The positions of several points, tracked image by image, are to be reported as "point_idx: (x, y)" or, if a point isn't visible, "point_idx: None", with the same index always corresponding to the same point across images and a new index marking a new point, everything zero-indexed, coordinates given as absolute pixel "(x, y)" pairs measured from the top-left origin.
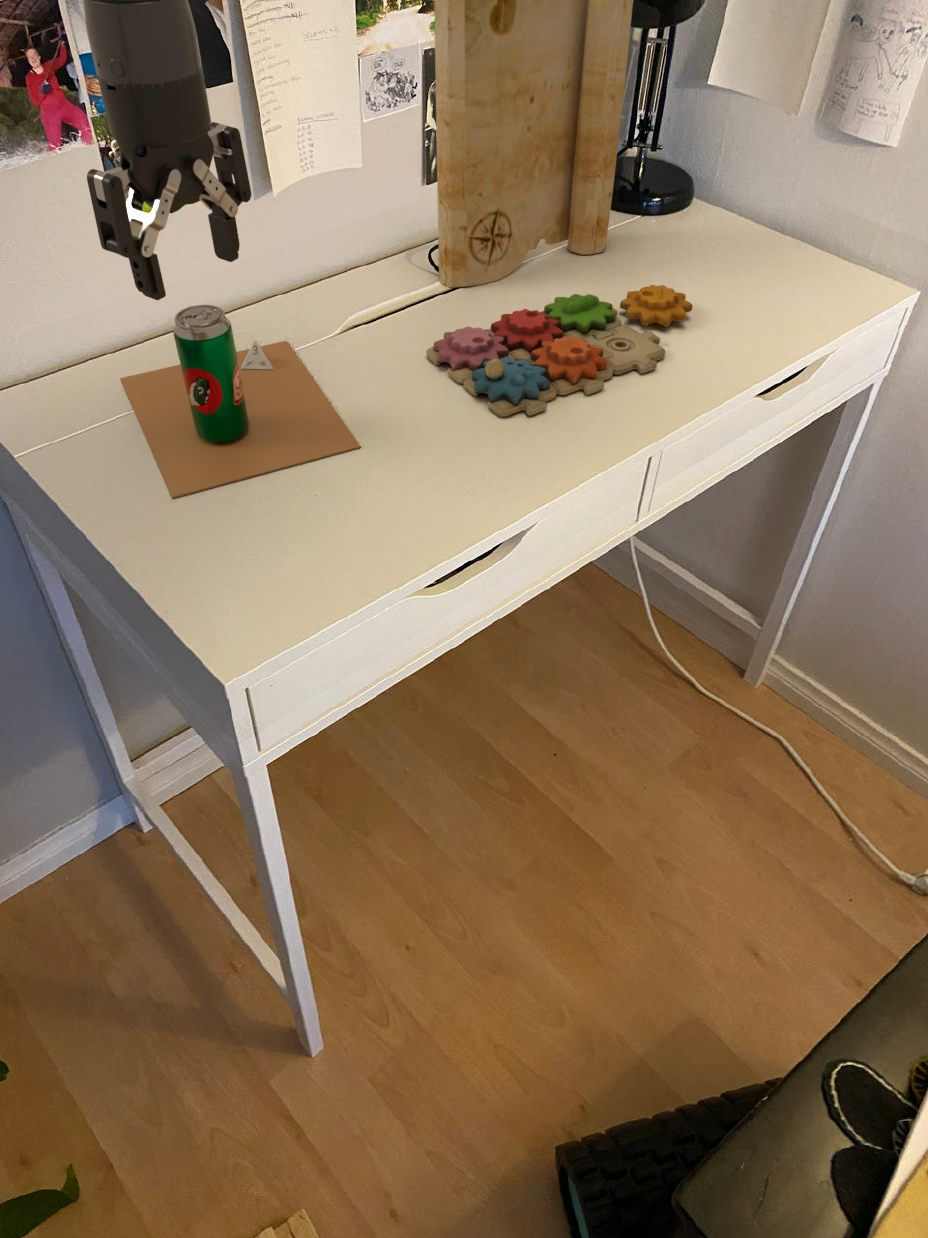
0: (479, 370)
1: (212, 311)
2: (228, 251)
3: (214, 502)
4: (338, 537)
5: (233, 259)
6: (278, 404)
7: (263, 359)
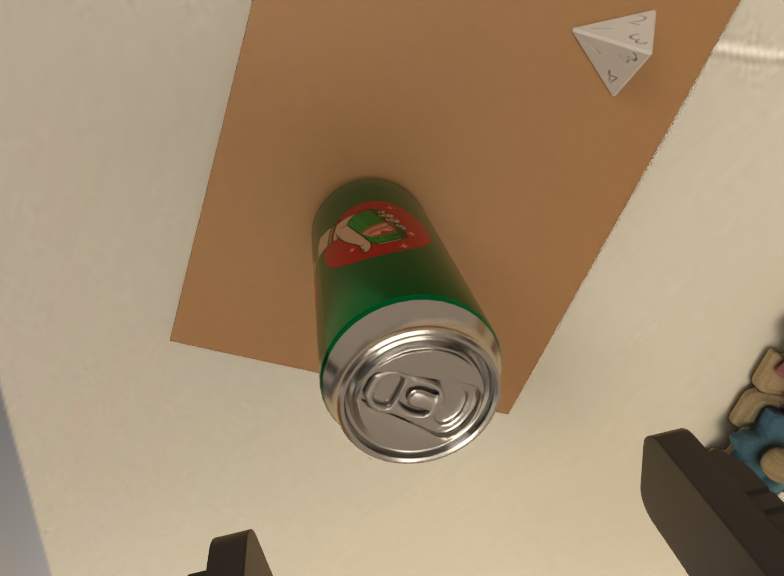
0: (780, 423)
1: (472, 388)
2: (664, 526)
3: (230, 386)
4: (331, 535)
5: (648, 514)
6: (513, 223)
7: (619, 76)
